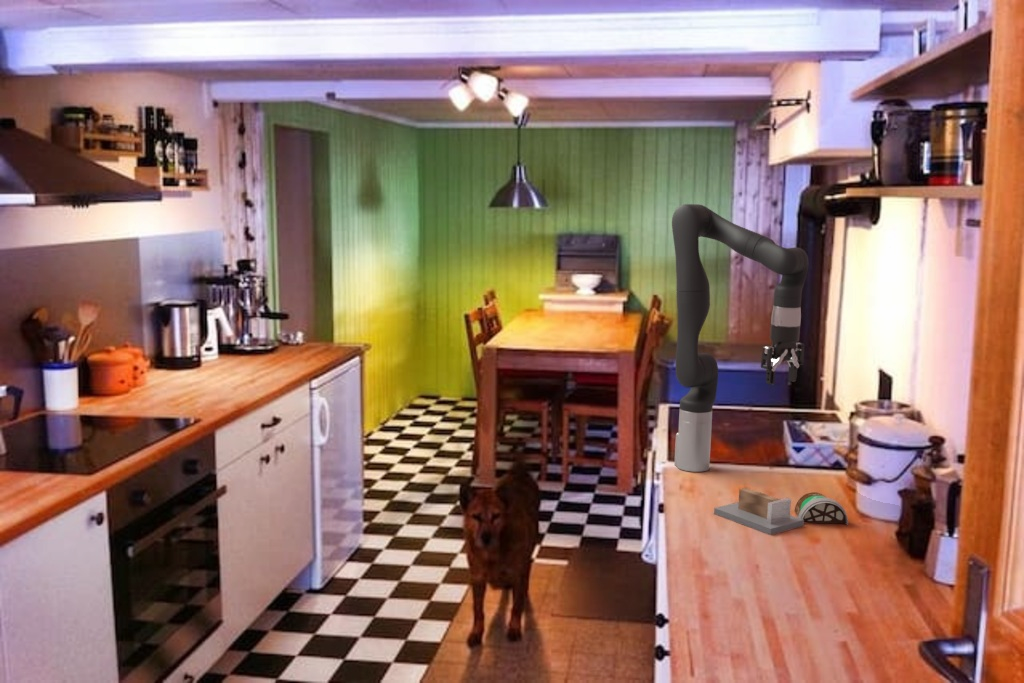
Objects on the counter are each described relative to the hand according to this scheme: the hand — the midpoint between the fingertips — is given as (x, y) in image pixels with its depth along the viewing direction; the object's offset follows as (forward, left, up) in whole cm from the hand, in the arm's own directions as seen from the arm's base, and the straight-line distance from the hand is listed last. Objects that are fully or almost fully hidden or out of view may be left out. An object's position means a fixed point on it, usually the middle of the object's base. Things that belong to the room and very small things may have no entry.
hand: (781, 382), depth 276 cm
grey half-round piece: (+20, -9, -26) cm, 33 cm away
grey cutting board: (+17, -26, -29) cm, 42 cm away
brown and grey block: (+17, -26, -27) cm, 41 cm away
